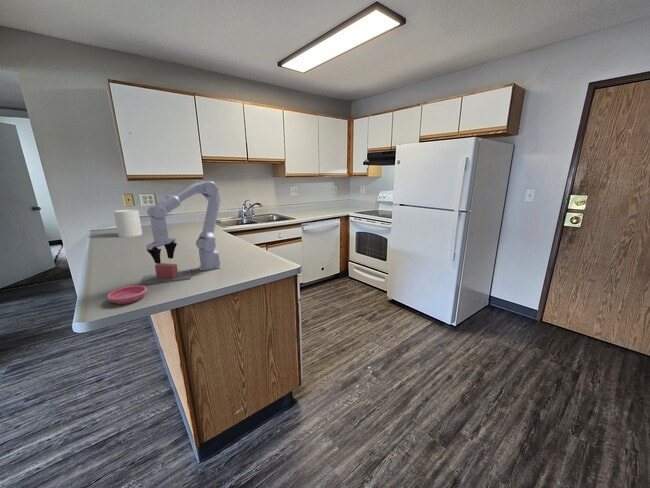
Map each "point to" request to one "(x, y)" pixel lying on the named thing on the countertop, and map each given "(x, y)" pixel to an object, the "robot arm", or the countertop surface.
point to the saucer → (127, 294)
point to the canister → (128, 223)
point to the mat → (154, 279)
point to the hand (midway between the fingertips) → (164, 260)
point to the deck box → (166, 270)
